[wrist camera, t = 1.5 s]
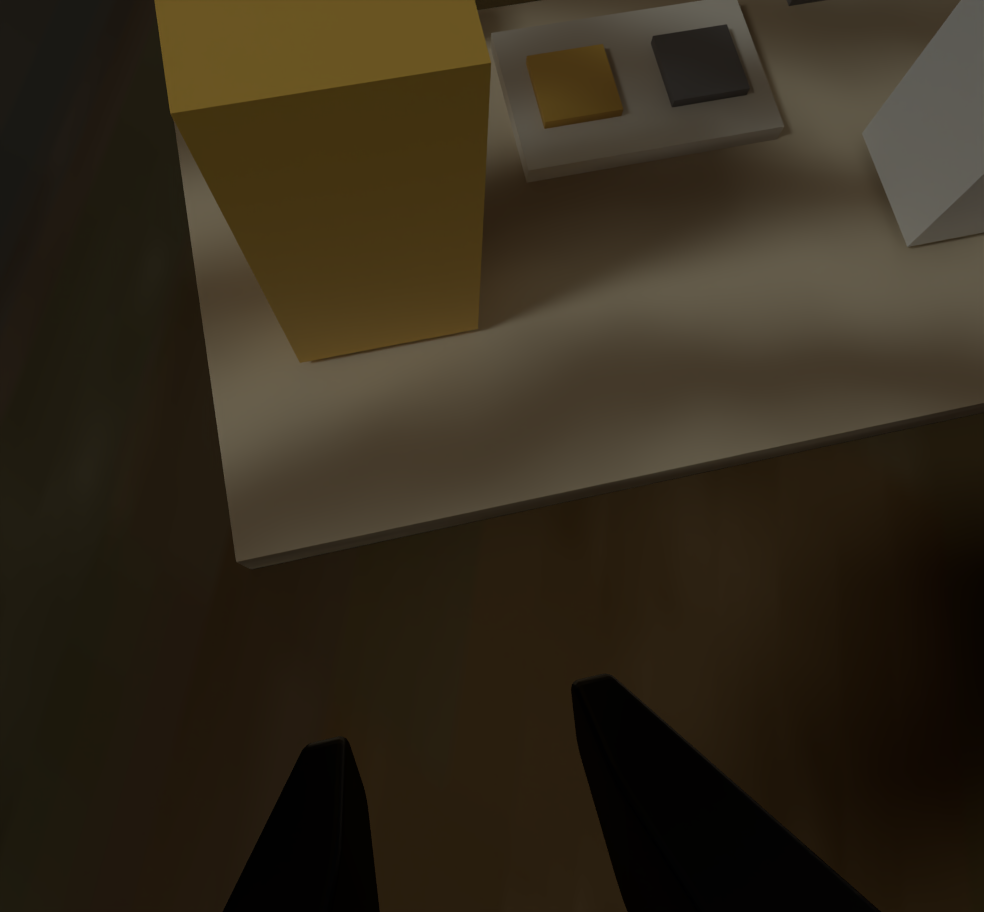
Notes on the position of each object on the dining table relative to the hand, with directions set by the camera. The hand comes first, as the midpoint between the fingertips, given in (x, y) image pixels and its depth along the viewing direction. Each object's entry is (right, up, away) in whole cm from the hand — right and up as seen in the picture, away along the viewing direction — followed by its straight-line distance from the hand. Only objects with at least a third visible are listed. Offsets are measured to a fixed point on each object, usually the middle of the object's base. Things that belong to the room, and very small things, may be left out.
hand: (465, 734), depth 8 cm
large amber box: (-3, +8, +15) cm, 17 cm away
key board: (+5, +10, +17) cm, 21 cm away
